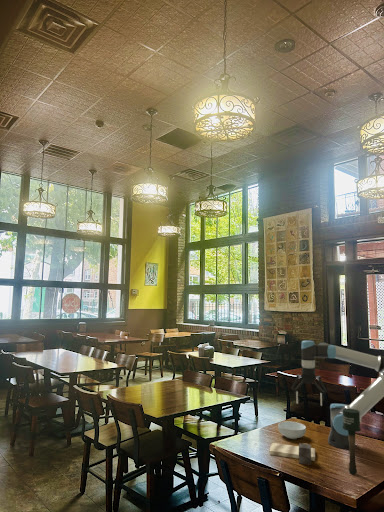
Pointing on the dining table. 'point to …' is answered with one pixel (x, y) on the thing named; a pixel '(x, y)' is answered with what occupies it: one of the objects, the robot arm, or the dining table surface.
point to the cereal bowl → (291, 429)
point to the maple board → (288, 451)
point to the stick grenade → (351, 434)
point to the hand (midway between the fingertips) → (309, 404)
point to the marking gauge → (305, 454)
